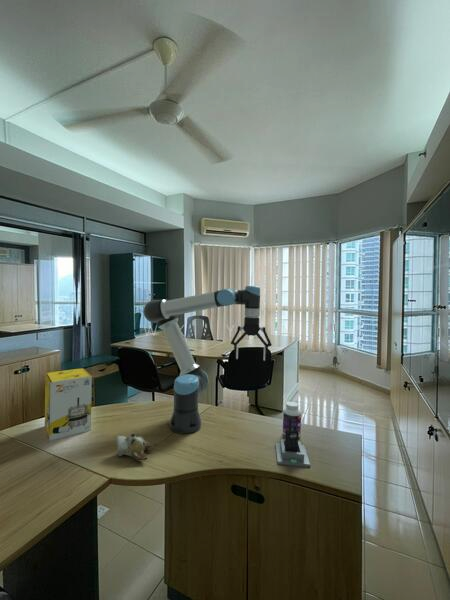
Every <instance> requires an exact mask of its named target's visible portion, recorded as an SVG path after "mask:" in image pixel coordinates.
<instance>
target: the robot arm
mask: <svg viewBox="0 0 450 600" xmlns="http://www.w3.org/2000/svg"><path fill="white" fill-rule="evenodd" d="M233 305H244V318H243V326H241V325H238V326H237V330H236V332H235V334H234V336H233V338H232V340H231V341H230V344H231V345H233V346H234V348H233V352H234V353H235V359H236V360H238V359H239V345H238V344H239V343H240V342H241V341H242V340H243V339H244V338H245V337H246V336H249V337H251V336H252V337H255V336H257V338H258V339H259V340H260V342H261V343H262V345H264V346H263V357H262V358H263V361H264V362H265V361H266V354H268V353H269V351H268V350H269V347H272V342H271V340H270V338H269V336H268V334H267V331H266V327H265V326H263V327H260V315H261V314H260V312H261V287H260V286H258V285H246V286H245V287H244V289H232V288H222V289H220V290H216V291H210V292H205V293H200V294H196V295H195V294H194V295H190V296H185V297H180V298H175V299H174V298H173V299H171V300H170V299H165V298H164V299H163V298H162V299H153V300H150V301H147V303H146V304H145V305H144V307H143V316H144V317H145V319H146V320H147V321H149V323H154V324H155V323H156V326H157V327H158V329H160V330H162V331H163V334H164V336H165V338H166V340H167V344H168V345H169V347H170V350H171V352H172V355H173V356H174V359H175V362H176V363H177V365H178V368H179V370H180V373H179V376H177V377H176V378H175V379H174V383H173V384H174V385H173V410H172V415H171V417H170V420H169V430H171V432H172V431H173V433H177V434H184V435H185V434H191V433H194V432H195V433H196V432H198V431H199V430H200V429H201V428H202V419H201V414H200V412H199V397H200V396H202V394H203V393H204V392H205V391H206V389H207V388H208V386H209V376H208V374H207V373H206V371H204V370H202V367H201V366H200V364H197V363H196V362H195V359H194V357H193V354H192V353H191V351H190V347H189V346H188V344H187V342H186V339H185V336H184V335H183V332H182V330H181V328H180V326H179V324H178V321H179V316H178V315H184V314H189V313H193V312H199V311H203V310H204V311H205V310H210V309H216V308H221V307H228V306H233ZM242 330H243V331H244V332H243V334H242V335H240V337H239V338H238V339H237V337H238V335H239V334H240V331H242ZM260 331H261V332H262V333H263V335H264V337H265V339H266V341H265V339H264V338H263V337H262V336H261V335H260V333H259V332H260Z"/></svg>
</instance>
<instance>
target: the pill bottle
mask: <svg viewBox="0 0 450 600" xmlns="http://www.w3.org/2000/svg"><path fill="white" fill-rule="evenodd" d="M285 404H286V405H285V407H284V408H283V410H282V412H283V413H282V434H283V435H284V436H285V432H286V429H288V426H289V417H291V428H294V425H296V427H297V430H298V433H299V437H301V430H302V429H301V426H302V411H301V409H300V408H299V403H297V402H296V401H287V402H286V403H285Z"/></svg>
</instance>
